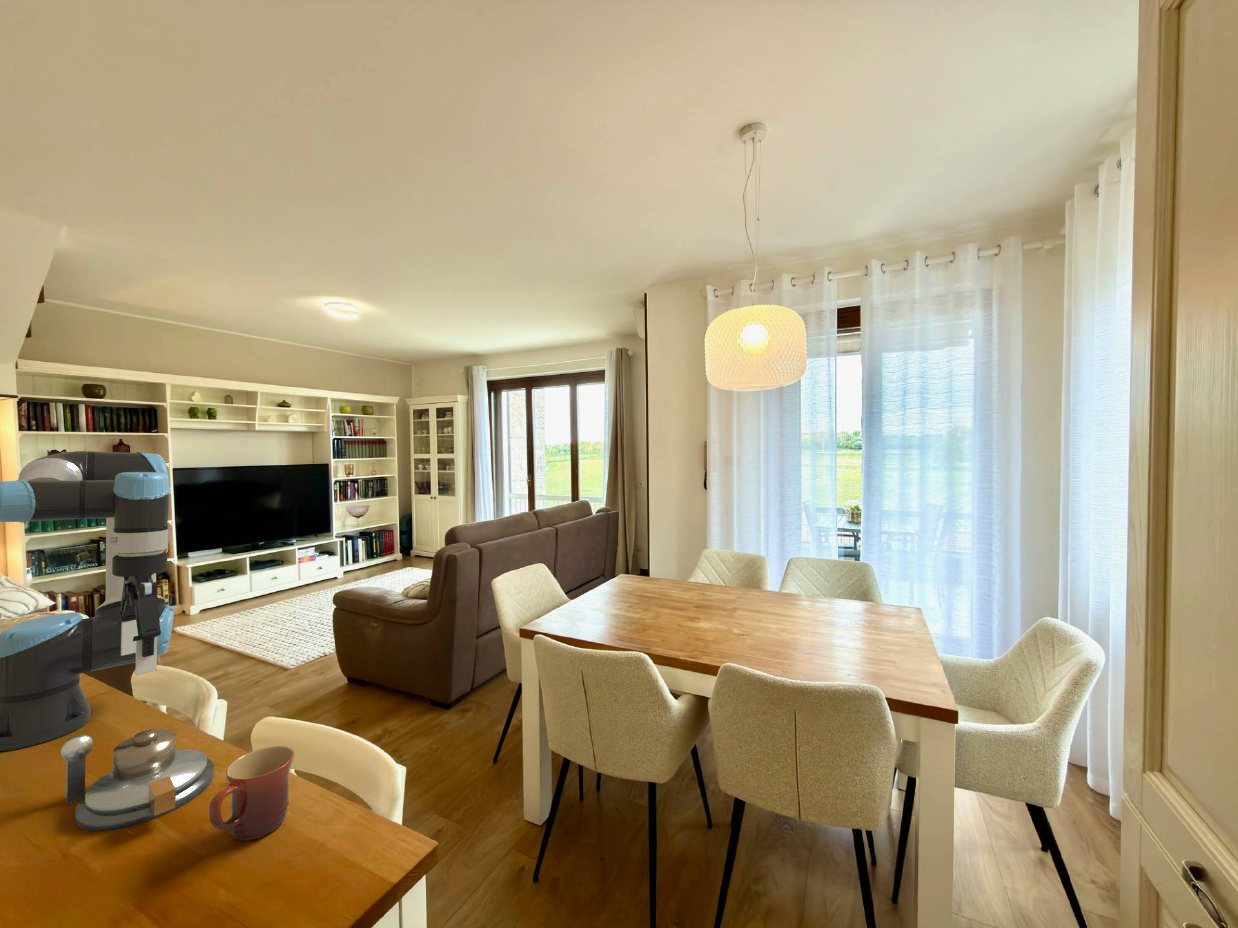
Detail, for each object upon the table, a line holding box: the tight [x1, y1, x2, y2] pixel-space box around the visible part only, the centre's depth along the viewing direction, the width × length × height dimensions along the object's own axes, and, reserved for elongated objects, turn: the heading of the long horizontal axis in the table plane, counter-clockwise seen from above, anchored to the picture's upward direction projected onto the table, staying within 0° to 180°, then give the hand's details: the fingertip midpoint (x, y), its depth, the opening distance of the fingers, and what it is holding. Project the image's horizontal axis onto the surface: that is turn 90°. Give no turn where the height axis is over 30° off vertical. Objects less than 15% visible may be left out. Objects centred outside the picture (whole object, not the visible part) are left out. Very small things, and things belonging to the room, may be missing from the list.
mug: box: [208, 745, 295, 841], centre depth 75 cm, size 12×9×10 cm
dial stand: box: [60, 734, 94, 805], centre depth 82 cm, size 3×4×11 cm
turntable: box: [85, 748, 208, 816], centre depth 82 cm, size 20×15×4 cm
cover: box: [112, 728, 177, 779], centre depth 86 cm, size 8×8×6 cm
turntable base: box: [74, 757, 215, 832], centre depth 83 cm, size 17×17×2 cm
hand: (138, 662), depth 93 cm, fingers open, 13 cm apart
